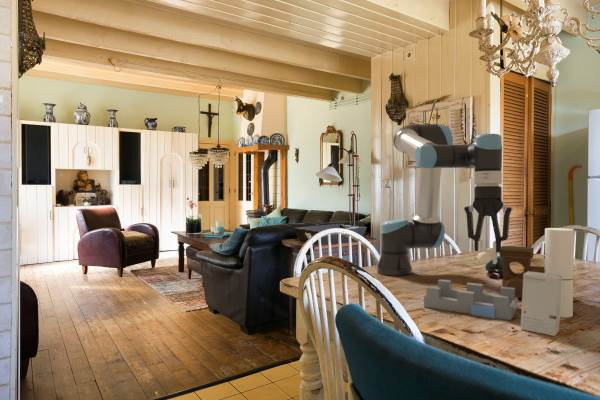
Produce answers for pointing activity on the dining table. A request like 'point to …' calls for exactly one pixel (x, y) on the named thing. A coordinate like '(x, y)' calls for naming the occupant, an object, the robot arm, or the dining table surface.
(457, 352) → the dining table surface
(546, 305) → the skincare box
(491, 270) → the binoculars
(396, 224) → the robot arm
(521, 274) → the wooden toy train
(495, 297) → the grey notched frame
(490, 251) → the cream round-ended rod
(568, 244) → the cylindrical container
